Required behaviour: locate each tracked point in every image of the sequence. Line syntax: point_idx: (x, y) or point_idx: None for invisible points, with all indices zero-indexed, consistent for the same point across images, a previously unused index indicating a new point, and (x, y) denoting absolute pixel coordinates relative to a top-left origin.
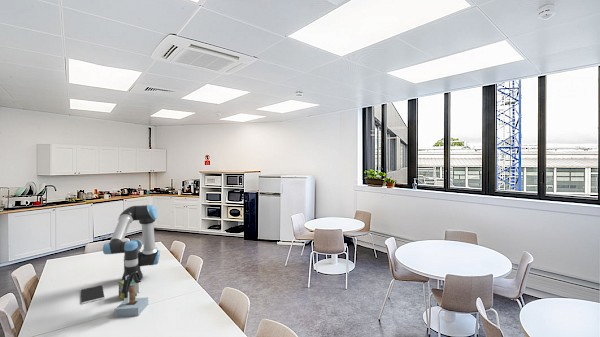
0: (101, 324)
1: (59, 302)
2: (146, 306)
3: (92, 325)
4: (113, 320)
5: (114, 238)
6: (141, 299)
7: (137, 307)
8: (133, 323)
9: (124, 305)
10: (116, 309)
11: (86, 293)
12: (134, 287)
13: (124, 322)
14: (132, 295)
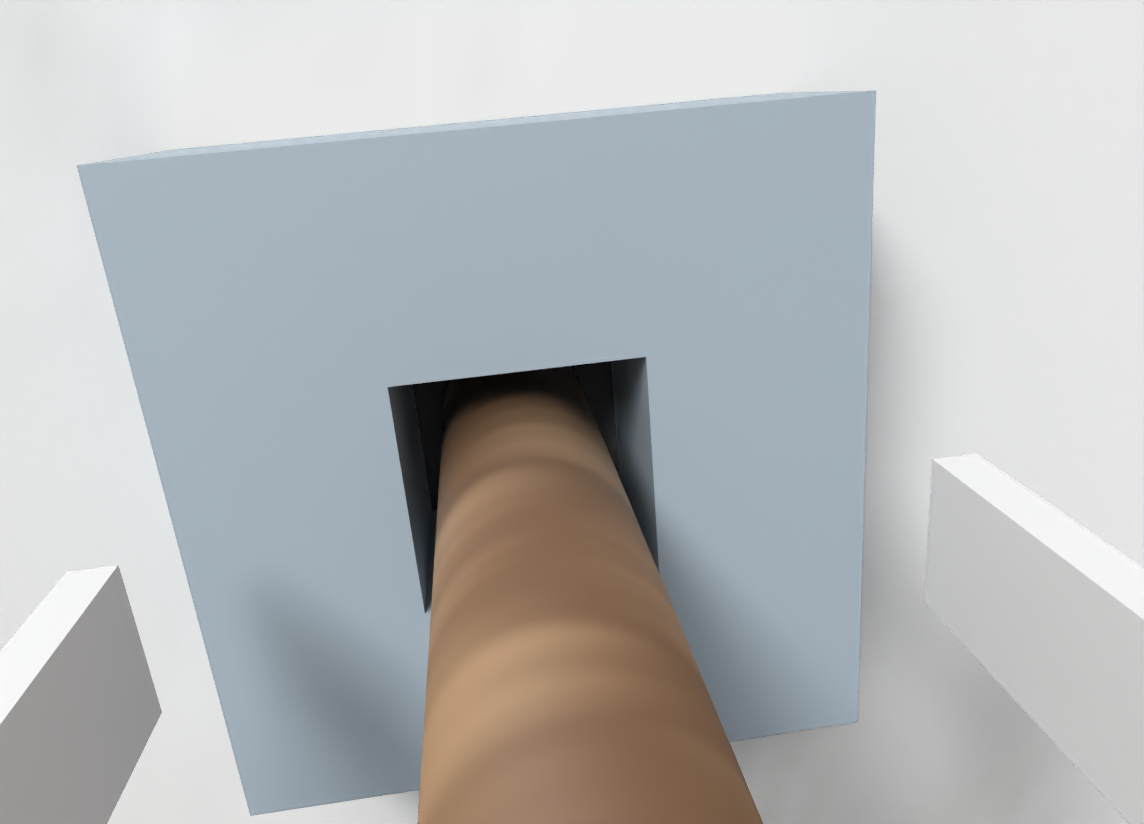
0: None
1: None
2: (286, 139)
3: (1029, 791)
4: (916, 552)
5: None
6: (266, 330)
7: (843, 136)
8: (1137, 8)
9: None
10: (856, 681)
11: None
12: (619, 796)
13: (1044, 266)
14: (652, 580)
